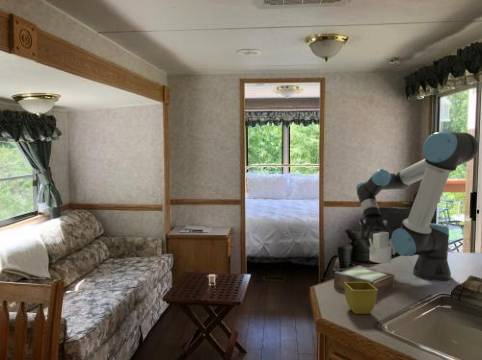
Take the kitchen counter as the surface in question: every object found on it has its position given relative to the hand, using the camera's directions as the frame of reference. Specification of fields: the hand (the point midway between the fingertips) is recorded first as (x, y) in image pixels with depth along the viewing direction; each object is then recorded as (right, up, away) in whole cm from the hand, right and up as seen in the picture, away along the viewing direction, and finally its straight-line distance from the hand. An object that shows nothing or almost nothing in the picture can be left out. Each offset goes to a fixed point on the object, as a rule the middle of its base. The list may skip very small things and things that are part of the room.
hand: (383, 253), depth 181 cm
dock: (-12, -11, -13) cm, 21 cm away
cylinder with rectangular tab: (0, -4, +3) cm, 5 cm away
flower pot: (-21, -13, -38) cm, 46 cm away
